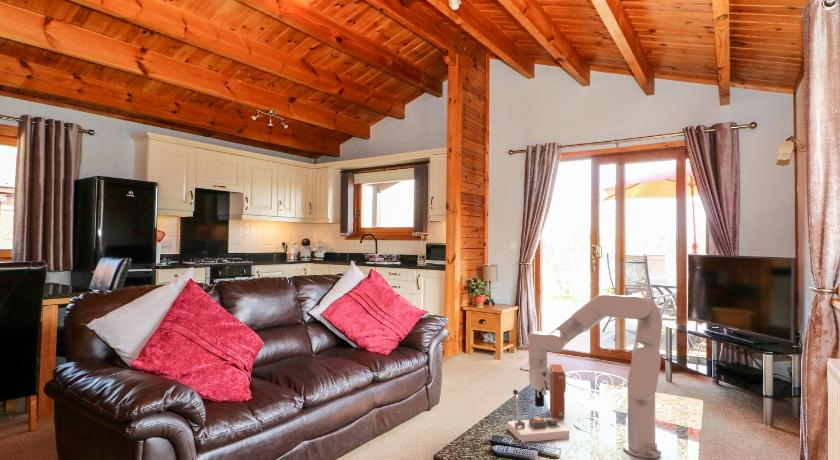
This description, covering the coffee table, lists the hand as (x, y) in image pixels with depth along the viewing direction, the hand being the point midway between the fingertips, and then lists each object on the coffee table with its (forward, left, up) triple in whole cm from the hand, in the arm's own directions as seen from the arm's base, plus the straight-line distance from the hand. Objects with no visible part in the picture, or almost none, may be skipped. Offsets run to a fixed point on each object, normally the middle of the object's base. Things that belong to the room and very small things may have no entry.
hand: (539, 405), depth 194 cm
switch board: (0, +1, -11) cm, 11 cm away
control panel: (+19, -18, -12) cm, 29 cm away
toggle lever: (+1, +9, -7) cm, 11 cm away
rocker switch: (+1, -6, -7) cm, 9 cm away
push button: (+1, +1, -7) cm, 7 cm away
